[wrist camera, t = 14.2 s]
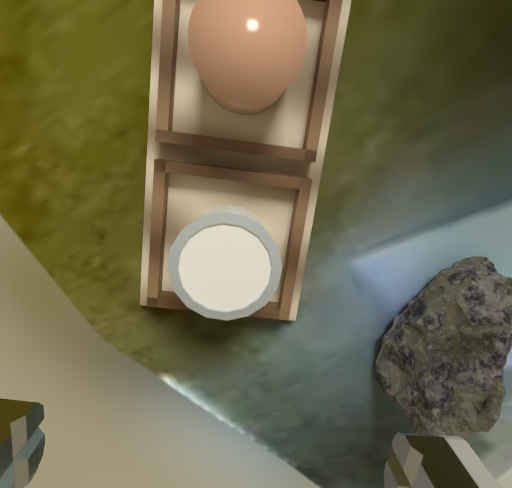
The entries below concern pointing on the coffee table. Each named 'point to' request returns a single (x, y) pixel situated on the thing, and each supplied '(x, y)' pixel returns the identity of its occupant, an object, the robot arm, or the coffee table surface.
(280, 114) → the divided wooden tray
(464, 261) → the mineral rock
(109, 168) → the coffee table surface
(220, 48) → the tan rounded cylinder
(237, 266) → the white cylinder
